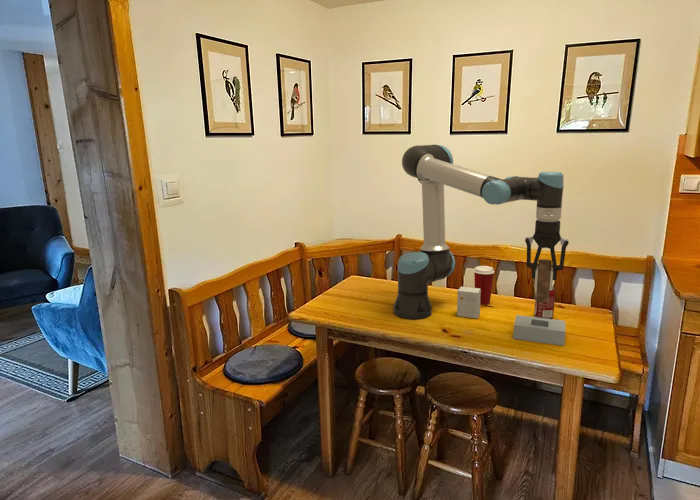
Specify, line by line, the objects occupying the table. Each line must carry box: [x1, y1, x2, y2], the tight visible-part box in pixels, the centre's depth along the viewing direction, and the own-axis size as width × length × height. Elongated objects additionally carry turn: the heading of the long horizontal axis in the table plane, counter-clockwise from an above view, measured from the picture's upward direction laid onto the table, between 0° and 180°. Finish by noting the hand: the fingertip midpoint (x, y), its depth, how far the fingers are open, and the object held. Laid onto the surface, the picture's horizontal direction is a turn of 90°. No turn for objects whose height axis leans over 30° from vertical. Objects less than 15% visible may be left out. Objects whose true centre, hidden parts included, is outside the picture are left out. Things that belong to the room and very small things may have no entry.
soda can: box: [534, 285, 556, 319], centre depth 180 cm, size 7×7×12 cm
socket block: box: [512, 314, 566, 347], centre depth 164 cm, size 16×10×5 cm, turn 67°
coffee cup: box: [472, 265, 495, 306], centre depth 196 cm, size 8×8×15 cm
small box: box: [456, 286, 481, 319], centre depth 184 cm, size 8×6×10 cm
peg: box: [535, 258, 552, 303], centre depth 159 cm, size 4×4×14 cm
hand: (543, 288), depth 160 cm, fingers closed on peg, 4 cm apart
